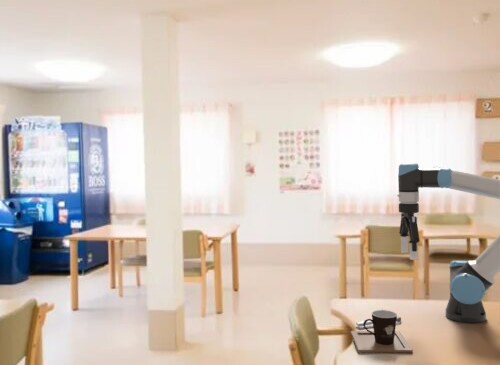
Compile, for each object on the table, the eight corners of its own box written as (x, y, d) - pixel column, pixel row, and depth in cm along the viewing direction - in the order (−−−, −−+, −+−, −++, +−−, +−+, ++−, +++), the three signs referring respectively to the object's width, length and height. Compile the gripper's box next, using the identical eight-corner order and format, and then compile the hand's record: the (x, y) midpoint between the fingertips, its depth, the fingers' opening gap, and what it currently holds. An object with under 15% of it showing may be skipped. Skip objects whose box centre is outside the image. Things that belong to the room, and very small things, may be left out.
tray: (399, 334, 179) (399, 330, 178) (412, 353, 161) (412, 350, 161) (350, 333, 180) (350, 330, 180) (358, 353, 162) (358, 349, 162)
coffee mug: (395, 337, 173) (395, 310, 173) (398, 347, 165) (397, 318, 164) (362, 336, 176) (362, 309, 175) (363, 345, 167) (363, 317, 167)
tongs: (396, 319, 195) (396, 315, 194) (403, 323, 190) (403, 318, 190) (353, 324, 189) (353, 320, 189) (360, 329, 184) (359, 324, 184)
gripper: (391, 200, 201) (392, 249, 202) (407, 205, 176) (407, 262, 177) (409, 199, 201) (410, 249, 202) (428, 205, 176) (428, 262, 177)
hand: (409, 255), depth 190 cm, fingers open, 13 cm apart
